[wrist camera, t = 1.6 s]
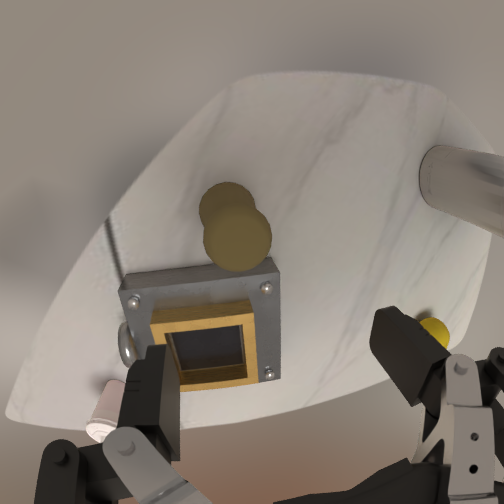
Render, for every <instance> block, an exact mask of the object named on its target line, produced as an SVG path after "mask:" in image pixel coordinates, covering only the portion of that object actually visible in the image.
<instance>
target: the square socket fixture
mask: <svg viewBox="0 0 504 504" xmlns="http://www.w3.org/2000/svg"><path fill="white" fill-rule="evenodd" d="M118 294H119V297H120V300H121V304H122V307H123V310H124V313H125V316H126V319H127V322H125V323H122V324H121V325H120V327H119V331H118V346H119V352H120V356H121V359H122V361H123V363H124V365H125V366H126V367H128V368H130V367H131V366H132V364H133V363H134V362H135V360H140V359H145V355H146V350H147V346H148V345H156V344H169V346H170V349H171V352H172V356H173V359H174V362H175V365H176V369H177V372H178V375H179V381H180V392H187V391H199V390H209V389H218V388H226V387H234V386H241V385H248V384H255V383H260V382H266V381H272V380H277V379H280V375H281V326H280V272H279V270H278V268H277V267H276V265H275V263H274V261H273V260H272V258H271V257H270V258H264V260H263V261H262V262H261V263H260V264H259V265H257V266H255V267H254V268H252V269H249V270H246V271H242V272H232V271H228V270H225V269H222V268H221V267H219V266H218V265H216V264H212V265H203V266H195V267H186V268H177V269H169V270H160V271H151V272H142V273H133V274H126V275H125V277H124V279H123V281H122V283H121V285H120V287H119V289H118Z"/></svg>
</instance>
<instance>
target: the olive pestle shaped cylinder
mask: <svg viewBox="0 0 504 504" xmlns="http://www.w3.org/2000/svg"><path fill="white" fill-rule="evenodd" d="M199 215H200V218H201V222H202V224H203V225H204V227H205V228H204V237H203V244H204V247H205V250H206V253H207V254H208V256H209V257H210V259H211V260H212V261H213V262H214V263H215V264H216V265H218V266H219V267H221V268H222V269H225V270H228V271H232V272H242V271H246V270H249V269H252V268H254V267H255V266H257V265H259V264H260V263H261V262H262V261H263V260H264V258H265V257H266V256H267V254H268V252H269V250H270V248H271V241H272V233H271V228H270V224H269V223H268V221H267V219H266V218H265V216H264V215H263V214H262V213H261V212H260V211H258V210H257V209H256V207H255V203H254V199H253V197H252V196H251V194H250V192H249V191H248V190H247V189H245V188H244V187H243V186H241V185H239V184H236V183H230V182H224V183H220V184H216V185H215V186H213V187H212V188H210V189H208V191H207V192H206V193H205V194H204V196H203V197H202V200H201V202H200V205H199Z"/></svg>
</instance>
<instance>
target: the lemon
mask: <svg viewBox="0 0 504 504" xmlns="http://www.w3.org/2000/svg"><path fill="white" fill-rule="evenodd" d="M419 323H420V324H421V325H422V326H423V327H424V329H426V330H427V331H428V332H429V333H430V335H432V336H433V337H434V338H435V339H436V340H437V341H438V342H439V343H440V344H441V345H442V346H443V347H444V348H445V349H447V346H448V343H449V339H450V335H449V331H448V329H447V327H446V326H445V325H444V323H443V322H441V321H440V320H438V319H437V318H433V317H429V318H425V319H423V320H422V321H420V322H419Z"/></svg>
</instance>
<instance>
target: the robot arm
mask: <svg viewBox="0 0 504 504" xmlns="http://www.w3.org/2000/svg"><path fill="white" fill-rule="evenodd" d="M420 188H421V192H422V195H423V197H424V199H425V201H426V202H427V203H428V204H429V205H430V206H432V207H433V208H436V209H439V210H441V211H444V212H446V213H449V214H451V215H453V216H455V217H458V218H460V219H463V220H465V221H467V222H470V223H472V224H474V225H476V226H479V227H481V228H483V229H485V230H487V231H489V232H491V233H494V234H496V235H498V236H500V237H502V238H504V157H503V156H499V155H494V154H489V153H484V152H478V151H473V150H467V149H461V148H454V147H447V146H435V147H433V148H432V149H431V150H429V151H428V153H427V154H426V156H425V157H424V159H423V162H422V165H421V169H420ZM369 343H370V349H371V351H372V353H373V355H374V356H375V357H376V359H377V360H378V361H379V363H380V364H381V365H382V367H383V368H384V370H385V371H386V372H387V374H388V375H389V376H390V378H391V379H392V380H393V382H394V383H395V385H396V386H397V387H398V389H399V390H400V391H401V393H402V394H403V396H404V397H405V398H406V400H407V401H408V403H409V404H410V406H411V407H413V406H415V405H417V404H419V403H421V402H422V403H423V405H424V406H423V408H422V412H421V422H420V430H419V438H418V444H417V449H416V452H415V454H414V456H413V458H412V460H411V463H410V462H409V461H408V459H407V458H405V459H403V460H400V461H399V462H397V463H394V464H392V465H390V466H388V467H385V468H383V469H381V470H379V471H377V472H376V473H374V474H373V475H372V476H370V477H369V478H367V479H366V480H364V481H363V482H361V483H360V484H358V485H357V486H355V487H354V488H352V489H350V490H347V491H341V492H331V493H320V494H308V495H304V496H301V497H296V498H292V499H287V500H283V501H278V502H274V503H273V504H504V478H503V480H502V482H498V481H494V466H495V460H494V459H495V456H494V455H496V456H497V458H498V459H499V461H500V462H501V464H502V466H503V467H504V409H503V407H502V406H501V405H500V403H499V402H498V401H497V400H496V397H497V395H498V394H499V392H500V391H501V390H502V391H503V392H504V348H501V347H497V348H494V349H492V350H491V352H490V354H489V356H488V358H487V359H485V360H480V361H475V362H474V360H473V359H471V358H470V357H468V356H466V355H463V354H454V355H451V354H450V353H449V352H448V351H447V350H446V349H445V348H444V347H443V346H442V345H441V344H440V343H439V342H438V341H437V340H436V339H435V338H434V337H433V336H432V335H430V333H429V332H428V331H427V330H426V329H424V327H423V326H422V325H421V324H420V323H419V322H418V321H417V320H415V319H413V318H412V317H410V316H408V315H404V314H403V313H402V312H401V311H400V310H399V309H398V308H397V307H395V306H390V307H386V308H382V309H378V310H377V311H376V312H375V316H374V321H373V326H372V330H371V335H370V341H369ZM171 461H180V381H179V375H178V372H177V369H176V365H175V362H174V359H173V356H172V352H171V349H170V346H169V344H156V345H148V346H147V350H146V355H145V359H140V360H135V362H134V363H133V364H132V366H131V367H130V368H129V370H128V374H127V378H126V383H125V388H124V392H123V397H122V402H121V407H120V412H119V417H118V423H117V427H116V429H115V430H113V431H111V432H110V433H109V434H108V435H107V436H106V437H105V439H104V441H103V442H102V443H99V444H95V445H90V446H85V447H80V448H77V447H76V446H75V445H74V444H73V443H72V442H70V441H68V440H64V439H59V440H55V441H53V442H51V443H49V444H48V445H47V447H46V448H45V449H44V451H43V455H42V459H41V464H40V469H39V474H38V480H37V487H36V493H35V500H34V504H118V500H119V499H124V498H129V497H135V499H136V500H137V501H138V503H139V504H213V503H212V502H211V501H209V500H208V499H207V498H206V497H205V496H204V495H203V494H202V493H201V492H199V491H198V490H197V489H196V488H195V487H194V486H193V485H192V484H191V483H189V482H188V481H186V480H185V479H184V478H183V477H181V476H180V475H179V474H178V473H177V471H176V470H174V468H173V467H172V466H171Z"/></svg>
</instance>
